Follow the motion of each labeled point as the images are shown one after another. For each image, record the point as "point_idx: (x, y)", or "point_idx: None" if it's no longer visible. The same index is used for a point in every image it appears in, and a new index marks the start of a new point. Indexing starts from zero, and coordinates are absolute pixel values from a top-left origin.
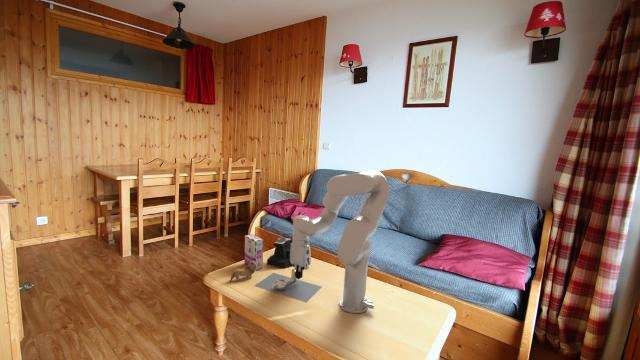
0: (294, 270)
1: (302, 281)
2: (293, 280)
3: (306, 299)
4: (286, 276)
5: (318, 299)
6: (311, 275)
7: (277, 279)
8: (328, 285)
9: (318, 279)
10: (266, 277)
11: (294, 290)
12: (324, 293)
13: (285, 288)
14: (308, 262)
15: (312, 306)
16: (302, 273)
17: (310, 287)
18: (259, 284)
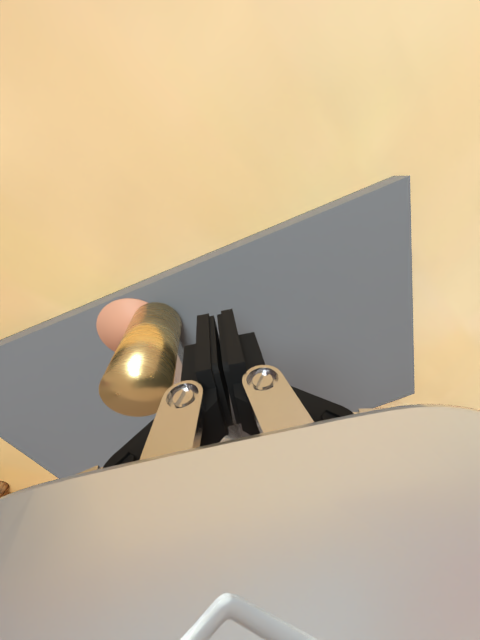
0: (141, 392)
1: (209, 266)
2: (180, 348)
3: (399, 380)
4: (44, 328)
5: (435, 304)
6: (86, 5)
7: (73, 401)
8: (412, 45)
9: (236, 20)
10: (7, 441)
11: None
12: (440, 215)
13: (235, 423)
14: (427, 433)
15: (436, 367)
16: (260, 351)
17: (333, 277)
18: None
